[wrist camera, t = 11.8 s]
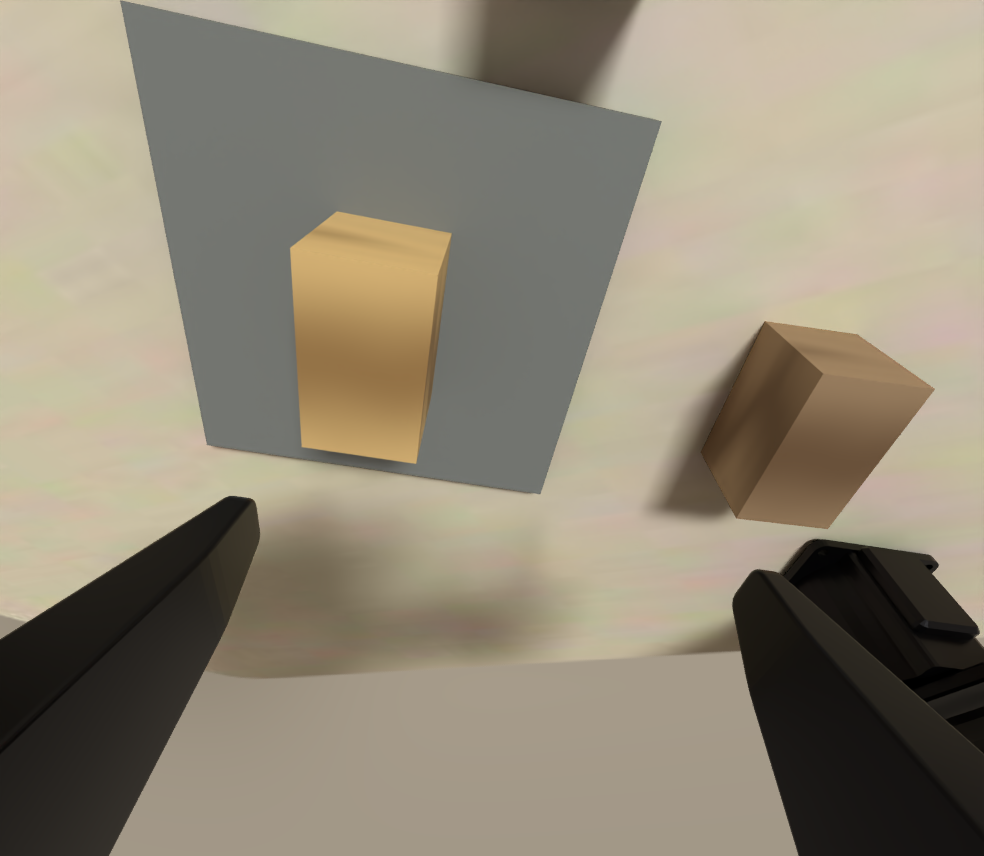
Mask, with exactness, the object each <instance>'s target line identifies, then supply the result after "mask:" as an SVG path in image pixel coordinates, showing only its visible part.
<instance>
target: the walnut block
mask: <svg viewBox="0 0 984 856" xmlns="http://www.w3.org/2000/svg"><path fill="white" fill-rule="evenodd" d="M934 390H935V389H934V388H933V387H931V386H930V385H928V384H927V383H926V382H924V381H923V380H921V379H920V378H918V377H917V376H916V375H914V374H913V373H911V372H910V371H908V370H907V369H906V368H904V367H903V366H901V365H900V364H899V363H897V362H896V361H894V360H893V359H891V358H890V357H889V356H887V355H886V354H884V353H883V352H881V351H880V350H879V349H877V348H876V347H874V346H873V345H872V344H870V343H869V342H867V341H866V340H864V339H863V338H862V337H860V336H859V335H857V334H850V333H843V332H836V331H829V330H822V329H815V328H808V327H801V326H794V325H787V324H780V323H773V322H766V321H765V322H764V324H763V326H762V328H761V331H760V333H759V335H758V337H757V339H756V341H755V343H754V345H753V347H752V349H751V351H750V353H749V355H748V357H747V359H746V361H745V363H744V365H743V367H742V369H741V371H740V373H739V375H738V377H737V379H736V381H735V383H734V386H733V388H732V390H731V392H730V394H729V396H728V398H727V400H726V402H725V404H724V406H723V408H722V410H721V412H720V414H719V416H718V418H717V420H716V422H715V424H714V426H713V428H712V430H711V432H710V434H709V436H708V438H707V441H706V443H705V445H704V447H703V449H702V451H701V454H702V456H703V458H704V459H705V461H706V463H707V465H708V467H709V469H710V471H711V472H712V474H713V476H714V478H715V480H716V482H717V483H718V485H719V487H720V489H721V491H722V493H723V495H724V496H725V498H726V500H727V502H728V504H729V506H730V508H731V509H732V511H733V513H734V515H735V517H736V518H737V519H746V520H755V521H763V522H772V523H781V524H789V525H798V526H807V527H815V528H824V529H828V528H829V527H830V525H831V524H832V523H833V521H834V520H835V519H836V517H837V516H838V515H839V514H840V512H841V511H842V510H843V508H844V507H845V506H846V504H847V503H848V502H849V501H850V499H851V498H852V497H853V495H854V494H855V493H856V491H857V490H858V489H859V487H860V486H861V485H862V484H863V482H864V481H865V480H866V478H867V477H868V476H869V474H870V473H871V472H872V471H873V469H874V468H875V467H876V465H877V464H878V463H879V461H880V460H881V459H882V457H883V456H884V455H885V454H886V452H887V451H888V450H889V448H890V447H891V446H892V444H893V443H894V442H895V441H896V439H897V438H898V437H899V435H900V434H901V433H902V431H903V430H904V429H905V427H906V426H907V425H908V424H909V422H910V421H911V420H912V418H913V417H914V416H915V414H916V413H917V412H918V411H919V409H920V408H921V407H922V405H923V404H924V403H925V401H926V400H927V399H928V397H929V396H930V395H931V394H932V392H933V391H934Z"/></svg>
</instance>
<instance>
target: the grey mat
mask: <svg viewBox="0 0 984 856" xmlns="http://www.w3.org/2000/svg"><path fill="white" fill-rule="evenodd" d="M120 2H121V7H122V12H123V17H124V22H125V27H126V32H127V38H128V43H129V48H130V53H131V58H132V63H133V68H134V73H135V78H136V84H137V89H138V94H139V99H140V104H141V109H142V114H143V119H144V125H145V130H146V135H147V140H148V145H149V150H150V155H151V160H152V165H153V171H154V176H155V181H156V186H157V191H158V196H159V201H160V206H161V212H162V217H163V222H164V227H165V232H166V237H167V242H168V247H169V252H170V258H171V263H172V268H173V273H174V278H175V283H176V288H177V293H178V298H179V304H180V309H181V314H182V319H183V324H184V329H185V334H186V339H187V345H188V350H189V355H190V360H191V365H192V370H193V375H194V380H195V385H196V391H197V396H198V401H199V406H200V411H201V416H202V421H203V426H204V432H205V437H206V442H207V445H211V446H217V447H224V448H231V449H238V450H245V451H251V452H258V453H265V454H272V455H278V456H285V457H292V458H299V459H305V460H312V461H319V462H326V463H333V464H339V465H346V466H353V467H360V468H366V469H373V470H380V471H387V472H394V473H400V474H407V475H414V476H421V477H427V478H434V479H441V480H448V481H454V482H461V483H468V484H475V485H482V486H488V487H495V488H502V489H509V490H515V491H522V492H529V493H536V494H541V490H542V487H543V484H544V481H545V478H546V475H547V472H548V469H549V466H550V463H551V460H552V457H553V454H554V451H555V447H556V444H557V441H558V438H559V435H560V432H561V429H562V426H563V423H564V420H565V417H566V414H567V411H568V408H569V404H570V401H571V398H572V395H573V392H574V389H575V386H576V383H577V380H578V377H579V374H580V371H581V368H582V365H583V361H584V358H585V355H586V352H587V349H588V346H589V343H590V340H591V337H592V334H593V331H594V328H595V325H596V322H597V318H598V315H599V312H600V309H601V306H602V303H603V300H604V297H605V294H606V291H607V288H608V285H609V282H610V279H611V275H612V272H613V269H614V266H615V263H616V260H617V257H618V254H619V251H620V248H621V245H622V242H623V239H624V236H625V232H626V229H627V226H628V223H629V220H630V217H631V214H632V211H633V208H634V205H635V202H636V199H637V196H638V192H639V189H640V186H641V183H642V180H643V177H644V174H645V171H646V168H647V165H648V162H649V159H650V156H651V153H652V149H653V146H654V143H655V140H656V137H657V134H658V131H659V128H660V125H661V122H662V121H658V120H654V119H649V118H645V117H641V116H636V115H632V114H627V113H623V112H618V111H614V110H609V109H605V108H600V107H596V106H591V105H587V104H582V103H578V102H573V101H569V100H564V99H560V98H555V97H551V96H547V95H542V94H538V93H533V92H529V91H524V90H520V89H515V88H511V87H506V86H502V85H497V84H493V83H488V82H484V81H479V80H475V79H470V78H466V77H461V76H457V75H453V74H448V73H444V72H439V71H435V70H430V69H426V68H421V67H417V66H412V65H408V64H403V63H399V62H394V61H390V60H385V59H381V58H376V57H372V56H367V55H363V54H359V53H354V52H350V51H345V50H341V49H336V48H332V47H327V46H323V45H318V44H314V43H309V42H305V41H300V40H296V39H291V38H287V37H282V36H278V35H273V34H269V33H264V32H260V31H256V30H251V29H247V28H242V27H238V26H233V25H229V24H224V23H220V22H215V21H211V20H206V19H202V18H197V17H193V16H188V15H184V14H179V13H175V12H170V11H166V10H162V9H157V8H153V7H148V6H144V5H139V4H134V3H130V2H125V1H121V0H120ZM336 212H343V213H348V214H353V215H358V216H364V217H369V218H374V219H379V220H385V221H390V222H395V223H401V224H406V225H411V226H416V227H422V228H427V229H432V230H437V231H443V232H448V233H452V236H451V244H450V252H449V260H448V268H447V276H446V284H445V292H444V300H443V308H442V316H441V324H440V332H439V340H438V348H437V356H436V363H435V371H434V379H433V387H432V395H431V400H430V405H429V409H428V414H427V418H426V422H425V427H424V431H423V436H422V440H421V445H420V449H419V454H418V458H417V462H416V464H414V463H407V462H400V461H393V460H387V459H380V458H373V457H366V456H360V455H353V454H346V453H339V452H332V451H326V450H319V449H312V448H305V447H302V443H301V426H300V409H299V392H298V375H297V358H296V340H295V323H294V306H293V289H292V272H291V255H290V248H291V247H292V246H293V245H295V244H296V243H297V242H298V241H300V240H301V239H302V238H304V237H305V236H306V235H307V234H309V233H310V232H311V231H312V230H314V229H315V228H316V227H318V226H319V225H320V224H321V223H323V222H324V221H325V220H327V219H328V218H329V217H330V216H332V215H333V214H334V213H336Z"/></svg>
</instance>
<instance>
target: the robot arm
mask: <svg viewBox="0 0 984 856" xmlns="http://www.w3.org/2000/svg"><path fill="white" fill-rule="evenodd" d="M259 538H260V528H259V521H258V514H257V507H256V503H255V501H254V500H253V499H251V498H245V497H237V496H228V497H226V498H224V499H222V500H220V501H219V502H217V503H216V504H214V505H213V506H211V507H209V508H208V509H206V510H205V511H203V512H201V513H200V514H198V515H197V516H195V517H193V518H192V519H190V520H189V521H187V522H186V523H184V524H182V525H181V526H179V527H178V528H176V529H174V530H173V531H171V532H170V533H168V534H166V535H165V536H163V537H162V538H160V539H159V540H157V541H155V542H154V543H152V544H151V545H149V546H147V547H146V548H144V549H143V550H141V551H140V552H138V553H136V554H135V555H133V556H132V557H130V558H128V559H127V560H125V561H124V562H122V563H120V564H119V565H117V566H116V567H114V568H113V569H111V570H109V571H108V572H106V573H105V574H103V575H101V576H100V577H98V578H97V579H95V580H93V581H92V582H90V583H89V584H87V585H86V586H84V587H82V588H81V589H79V590H78V591H76V592H74V593H73V594H71V595H70V596H68V597H66V598H65V599H63V600H62V601H60V602H59V603H57V604H55V605H54V606H52V607H51V608H49V609H47V610H46V611H44V612H43V613H41V614H39V615H38V616H36V617H35V618H33V619H32V620H30V621H28V622H27V623H25V624H24V625H22V626H20V627H19V628H17V629H16V630H14V631H12V632H11V633H9V634H8V635H6V636H5V637H3V638H1V639H0V856H109V854H110V853H111V851H112V849H113V847H114V845H115V843H116V841H117V839H118V837H119V835H120V833H121V831H122V829H123V827H124V825H125V823H126V822H127V819H128V818H129V816H130V814H131V812H132V810H133V808H134V806H135V804H136V802H137V800H138V798H139V796H140V794H141V792H142V790H143V788H144V786H145V785H146V783H147V781H148V779H149V776H150V775H151V773H152V771H153V769H154V767H155V765H156V763H157V761H158V759H159V757H160V755H161V753H162V751H163V750H164V748H165V746H166V744H167V742H168V740H169V738H170V736H171V734H172V732H173V730H174V728H175V726H176V724H177V722H178V721H179V718H180V717H181V715H182V712H183V711H184V709H185V707H186V705H187V703H188V701H189V699H190V697H191V695H192V693H193V691H194V689H195V687H196V686H197V684H198V682H199V680H200V678H201V676H202V674H203V672H204V670H205V668H206V666H207V664H208V662H209V660H210V658H211V656H212V655H213V653H214V651H215V649H216V647H217V645H218V643H219V641H220V639H221V637H222V635H223V633H224V631H225V628H226V626H227V624H228V621H229V619H230V616H231V614H232V611H233V609H234V606H235V604H236V601H237V598H238V596H239V593H240V590H241V588H242V585H243V583H244V580H245V577H246V575H247V572H248V570H249V567H250V564H251V562H252V559H253V556H254V554H255V551H256V549H257V546H258V543H259ZM938 565H939V564H938V563H937V562H936V560H935V559H934V558H933V557H932V556H930V555H926V554H920V553H913V552H906V551H899V550H892V549H886V548H879V547H872V546H865V545H858V544H852V543H845V542H838V541H831V540H817V541H815V542H813V543H811V544H810V545H809V546H808V548H807V549H806V550H805V551H804V552H803V554H802V555H801V556H800V557H799V558H798V560H797V561H796V562H795V563H794V565H793V566H792V567H791V568H790V569H789V571H788V572H787V573H786V574H785V575H784V577H783V576H782V575H781V574H779V573H777V572H774V571H767V570H760V569H757V570H754V571H752V572H751V573H750V574H749V576H748V577H747V578H746V580H745V581H744V582H743V584H742V585H741V587H740V588H739V589H738V591H737V592H736V593H735V595H734V598H733V603H732V607H733V614H734V619H735V624H736V629H737V634H738V639H739V644H740V649H741V654H742V659H743V664H744V668H745V674H746V679H747V683H748V688H749V692H750V696H751V699H752V703H753V706H754V710H755V713H756V716H757V720H758V723H759V726H760V729H761V733H762V736H763V739H764V743H765V746H766V749H767V753H768V756H769V759H770V763H771V766H772V769H773V772H774V776H775V779H776V782H777V786H778V789H779V792H780V796H781V799H782V802H783V806H784V809H785V812H786V816H787V819H788V822H789V826H790V829H791V832H792V835H793V839H794V842H795V845H796V849H797V852H798V855H799V856H984V647H983V646H982V645H981V644H980V643H979V641H978V640H977V639H976V638H975V637H976V636H977V635H979V634H980V631H979V628H978V626H977V625H976V623H975V622H974V621H973V620H972V619H971V618H970V617H969V615H968V614H967V613H966V612H965V611H964V610H963V609H962V608H961V606H960V605H959V604H958V603H957V602H956V601H955V600H954V598H953V597H952V596H951V595H950V594H949V593H948V592H947V590H946V589H945V588H944V587H943V586H942V585H941V584H940V582H939V581H938V580H937V579H936V578H935V577H934V576H933V574H932V573H933V572H934V571H935V570H936V569H937V568H938Z"/></svg>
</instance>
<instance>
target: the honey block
mask: <svg viewBox="0 0 984 856" xmlns="http://www.w3.org/2000/svg"><path fill="white" fill-rule="evenodd" d="M451 236H452V233H448V232H443V231H437V230H432V229H427V228H422V227H416V226H411V225H406V224H401V223H395V222H390V221H385V220H379V219H374V218H369V217H364V216H358V215H353V214H348V213H343V212H336V213H334V214H333V215H332V216H330V217H329V218H328V219H327V220H325V221H324V222H323V223H321V224H320V225H319V226H318V227H316V228H315V229H314V230H312V231H311V232H310V233H309V234H307V235H306V236H305V237H304V238H302V239H301V240H300V241H298V242H297V243H296V244H295V245H293V246H292V247H291V248H290V255H291V272H292V289H293V306H294V323H295V340H296V358H297V375H298V392H299V409H300V426H301V443H302V447H305V448H312V449H319V450H326V451H332V452H339V453H346V454H353V455H360V456H366V457H373V458H380V459H387V460H393V461H400V462H407V463H414V464H416V462H417V458H418V454H419V449H420V445H421V440H422V436H423V431H424V427H425V422H426V418H427V414H428V409H429V405H430V400H431V395H432V387H433V379H434V371H435V363H436V356H437V348H438V340H439V332H440V324H441V316H442V308H443V300H444V292H445V284H446V276H447V268H448V260H449V252H450V244H451Z"/></svg>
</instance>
